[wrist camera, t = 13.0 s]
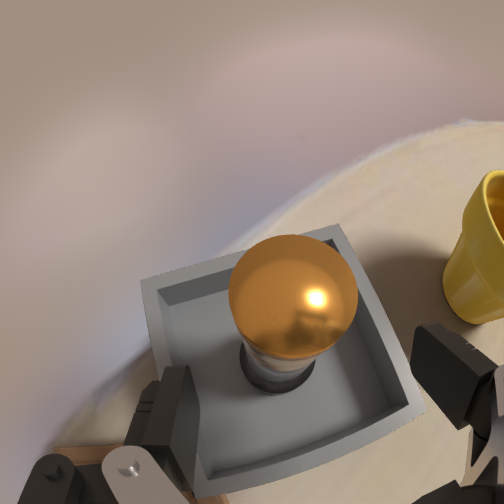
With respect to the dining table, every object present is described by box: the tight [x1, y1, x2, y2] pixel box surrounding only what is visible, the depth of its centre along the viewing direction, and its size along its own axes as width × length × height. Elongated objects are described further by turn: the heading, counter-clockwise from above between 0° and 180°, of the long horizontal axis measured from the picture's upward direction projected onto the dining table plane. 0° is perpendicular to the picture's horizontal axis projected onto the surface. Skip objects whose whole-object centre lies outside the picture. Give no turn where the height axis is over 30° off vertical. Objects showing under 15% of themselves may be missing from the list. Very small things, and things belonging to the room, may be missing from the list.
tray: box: [140, 224, 427, 499], centre depth 18 cm, size 14×14×4 cm
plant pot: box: [442, 170, 504, 324], centre depth 17 cm, size 10×10×10 cm
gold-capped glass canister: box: [228, 235, 358, 395], centre depth 13 cm, size 4×4×12 cm
